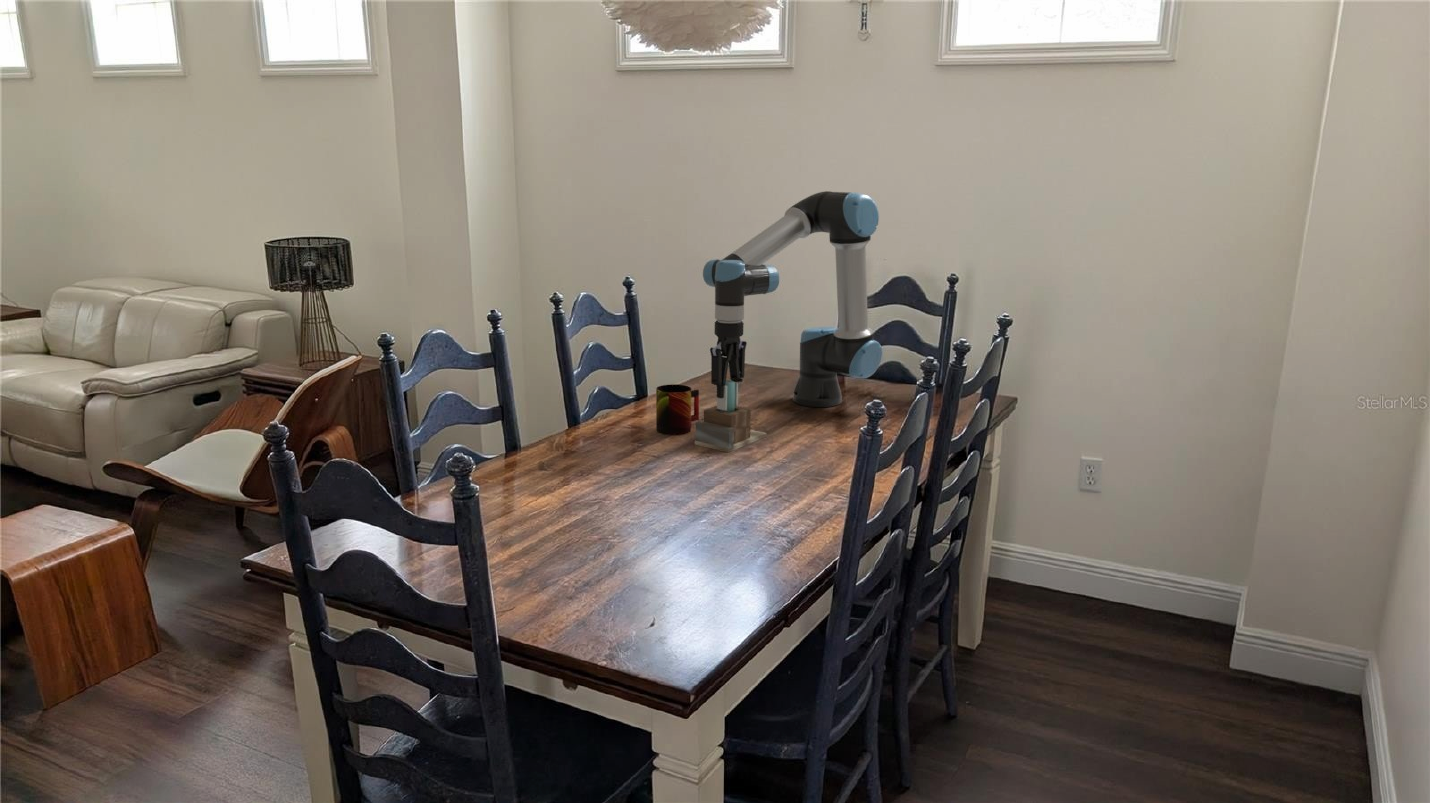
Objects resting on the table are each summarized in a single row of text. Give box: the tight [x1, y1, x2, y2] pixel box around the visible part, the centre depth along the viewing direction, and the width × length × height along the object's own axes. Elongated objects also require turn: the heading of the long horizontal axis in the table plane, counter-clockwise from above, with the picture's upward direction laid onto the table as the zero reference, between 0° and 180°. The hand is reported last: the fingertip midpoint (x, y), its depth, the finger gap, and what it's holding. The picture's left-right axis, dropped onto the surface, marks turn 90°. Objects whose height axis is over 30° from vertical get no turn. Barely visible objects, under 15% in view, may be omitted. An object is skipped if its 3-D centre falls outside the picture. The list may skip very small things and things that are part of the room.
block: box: [703, 405, 752, 444], centre depth 267 cm, size 9×9×8 cm
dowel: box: [721, 380, 735, 413], centre depth 265 cm, size 4×4×12 cm
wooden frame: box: [694, 420, 767, 453], centre depth 269 cm, size 18×11×6 cm, turn 144°
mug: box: [655, 383, 700, 436], centre depth 279 cm, size 10×14×12 cm
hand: (727, 407), depth 266 cm, fingers open, 4 cm apart
